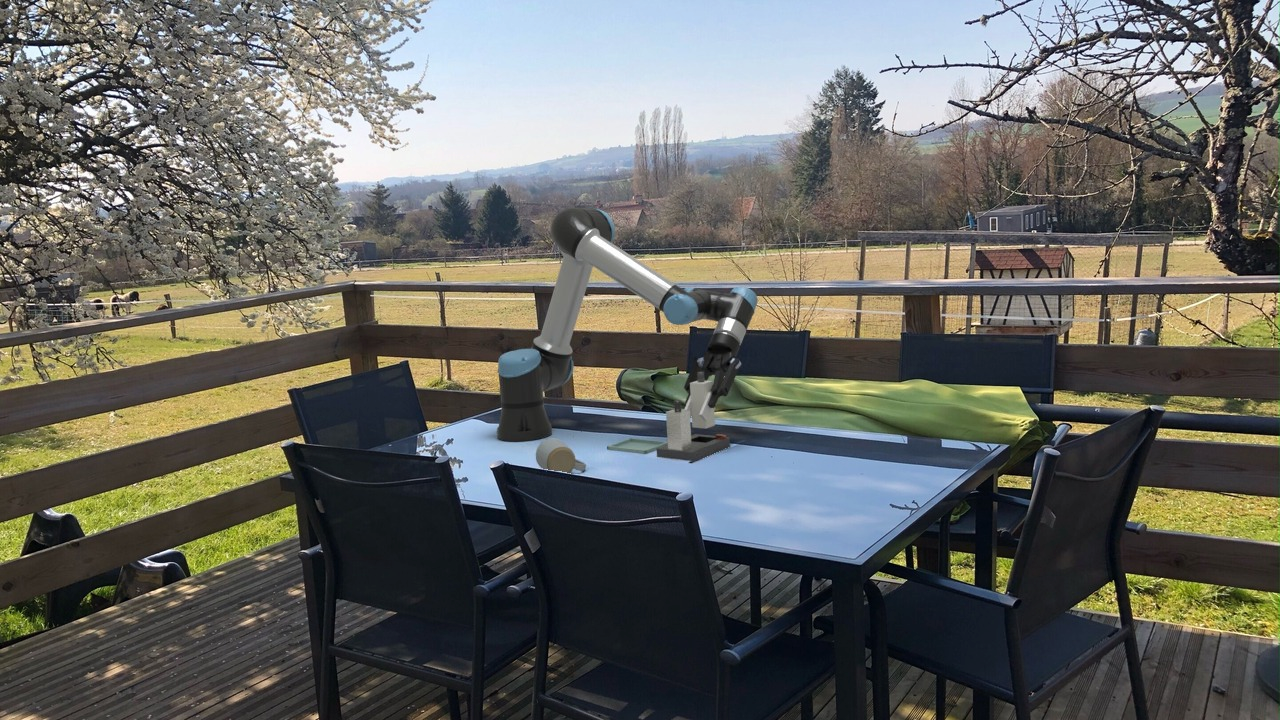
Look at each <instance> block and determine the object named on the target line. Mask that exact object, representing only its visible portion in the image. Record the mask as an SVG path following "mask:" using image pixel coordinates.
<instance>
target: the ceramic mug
mask: <svg viewBox="0 0 1280 720" xmlns="http://www.w3.org/2000/svg"><path fill="white" fill-rule="evenodd" d="M535 460H536V464H538V466H539V467H540V468H541V469H542V468H543V470H544V469H548V470H554V471H562V472H567V473H569V474H571V472H572V471H574V470H576V471H580V472H584V471H586V468H587V464H586V463H585V462H584V461H581V460H579V459H576V455H575V453H574V451H573V450H572V449H571V447H569V446H568V445H567V444H565V443H564V442H563V441H562V440H561V439H558V438H553V437H552V438H547V439H544V440H543V441H542V442H540V443H539V445H538V446H537V448H536V452H535Z"/></svg>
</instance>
